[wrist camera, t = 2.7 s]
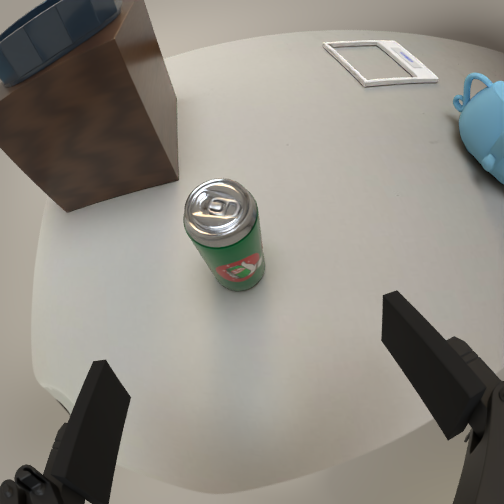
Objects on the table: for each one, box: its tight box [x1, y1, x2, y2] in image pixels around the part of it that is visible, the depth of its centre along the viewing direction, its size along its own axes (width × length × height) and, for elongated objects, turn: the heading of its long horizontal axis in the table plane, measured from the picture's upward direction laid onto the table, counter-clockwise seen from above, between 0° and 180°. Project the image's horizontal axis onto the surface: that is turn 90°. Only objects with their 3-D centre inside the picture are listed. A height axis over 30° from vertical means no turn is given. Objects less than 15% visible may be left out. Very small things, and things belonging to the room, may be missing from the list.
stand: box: [0, 0, 179, 212], centre depth 29 cm, size 17×17×20 cm
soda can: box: [183, 178, 265, 291], centre depth 24 cm, size 5×5×12 cm
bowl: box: [0, 0, 123, 88], centre depth 17 cm, size 15×15×5 cm
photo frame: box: [323, 40, 439, 87], centre depth 42 cm, size 15×1×18 cm
